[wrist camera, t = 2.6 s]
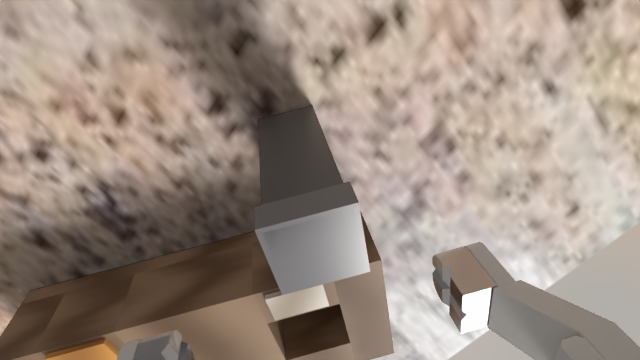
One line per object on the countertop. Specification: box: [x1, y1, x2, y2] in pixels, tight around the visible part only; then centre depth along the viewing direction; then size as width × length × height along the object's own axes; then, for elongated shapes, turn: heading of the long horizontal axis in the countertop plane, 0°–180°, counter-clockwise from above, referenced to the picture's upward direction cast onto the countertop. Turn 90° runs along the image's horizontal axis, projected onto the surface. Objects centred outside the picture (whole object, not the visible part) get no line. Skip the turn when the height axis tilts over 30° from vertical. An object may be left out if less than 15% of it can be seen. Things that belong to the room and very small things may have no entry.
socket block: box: [0, 211, 394, 360], centre depth 23 cm, size 22×10×5 cm, turn 101°
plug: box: [254, 106, 370, 295], centre depth 15 cm, size 3×3×9 cm
